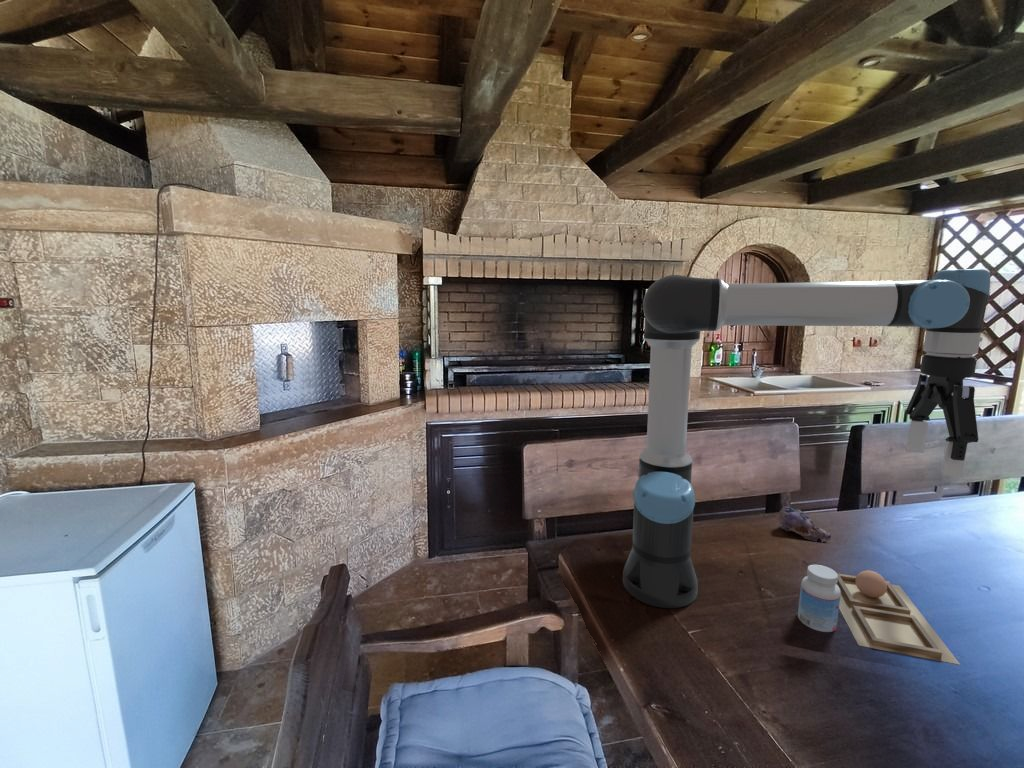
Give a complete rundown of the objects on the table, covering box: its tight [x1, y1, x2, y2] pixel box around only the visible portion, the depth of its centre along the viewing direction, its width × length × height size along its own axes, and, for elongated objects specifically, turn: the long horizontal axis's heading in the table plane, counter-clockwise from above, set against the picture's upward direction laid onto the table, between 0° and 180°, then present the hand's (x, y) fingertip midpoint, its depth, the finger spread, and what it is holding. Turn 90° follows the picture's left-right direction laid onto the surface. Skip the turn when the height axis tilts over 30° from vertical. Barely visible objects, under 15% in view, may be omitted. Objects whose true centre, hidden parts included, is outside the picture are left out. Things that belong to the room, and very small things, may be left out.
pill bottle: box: [797, 564, 841, 633], centre depth 86 cm, size 6×6×11 cm
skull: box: [777, 506, 832, 544], centre depth 119 cm, size 12×8×6 cm, turn 28°
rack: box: [836, 572, 961, 666], centre depth 88 cm, size 14×22×2 cm, turn 161°
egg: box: [855, 569, 887, 598], centre depth 93 cm, size 5×5×5 cm
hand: (931, 462), depth 91 cm, fingers open, 13 cm apart
